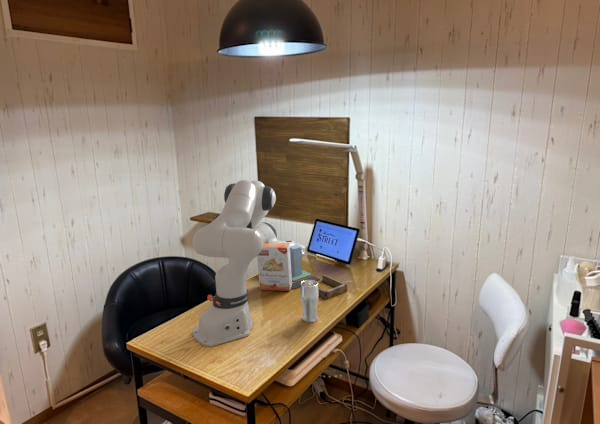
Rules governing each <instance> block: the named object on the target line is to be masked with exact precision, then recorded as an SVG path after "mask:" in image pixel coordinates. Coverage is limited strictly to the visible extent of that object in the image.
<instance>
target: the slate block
mask: <svg viewBox="0 0 600 424" xmlns="http://www.w3.org/2000/svg"><path fill="white" fill-rule="evenodd" d="M290 257H291V273H292V276H294V277H296V276H298V275H301V274H302V270H303V259H302V249H301V247H300V246H298V245H293V246H290Z"/></svg>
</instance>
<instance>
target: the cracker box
mask: <svg viewBox="0 0 600 424" xmlns="http://www.w3.org/2000/svg"><path fill="white" fill-rule="evenodd" d="M256 258H257V270H258V282H259V290H260V291H283V292H290V291H291V290H292V289H291V287H292V283H293V281H292V273H291V257H290V244H278V243H263V248H262V250H261V252H260V254H259V255H258V256H257V257H256Z"/></svg>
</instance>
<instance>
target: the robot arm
mask: <svg viewBox="0 0 600 424" xmlns="http://www.w3.org/2000/svg"><path fill="white" fill-rule="evenodd" d="M275 192H276V191H275V189H274V188H272V187H271V186H268V185H265V184H264V183H263V182H262V181H260V180H251V181H250V180H246V179H241V180H239V181H237V182H236V183H230V184H228V185H227V186H226V187H225V190H224V193H223V200H224V206H223V208H222V211H221V212H220V213H219V215H218V216H217V217H216V218H215V219H214V220H212V221H211V222H210V223H208V224H207V225H204V226H203V227H201V228H198V229H197V230H196V231H195V233H194V234H193V236H192V237H193V238H192V246H193V249H194V251H195V253H196V254H197V255H201V256H204V257H209V258H225V259H228V263H227V264H224V265H223V266H221V267H219V268H218V269H217V271H216V273H215V277H214V279H215V289H216V292H215V295H214V296H213V294H208V295H207V297H206V298H207V300H208V302H212V304H211V305H210V306H209V307H208V308H207V309H206V310H205V311H204V312H203V314H201V315H200V317H199V319H198V326H197V327H196V328H193V330H192V337H193V338H194V339H195V340H196V341H197V342H198V343H199V344H200V345H203V346H204V347H208V348H209V347H211V348H212V347H215V346H217V345H221V344H225V343H228V342H232V341H235V340H238V339H242V338H246V337H248V336H249V335H250V332H251V330H252V328H253V327H254V321H253V319H252V316H251V313H250V312H251V311H250V308H249V291H248V288H247V272H248V271H247V270H248V267H249V265H250V264H251V262H253V260H254V259H255V258H257V256H258V255H259V254H260V252H261V250H262V248H263V243H278V244H290V246H293V245H298V246H300V247H301V249H302V257H303V258H304V257H305V256H306V246H305V245H303V244H300V243H298V242H295V241H294V240H279V239H277V238H278V233H277V231H276V229H275V227H274V226H273V225H272V224H270V223H268V222H263V221H262V220H263V218H265V217H266V216H267V215H268V213H269V211H271V210H272V209H273V208H274V205H275V204H276V201H277V196H276V193H275ZM261 221H262V222H261Z"/></svg>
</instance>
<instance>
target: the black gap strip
mask: <svg viewBox="0 0 600 424" xmlns="http://www.w3.org/2000/svg"><path fill="white" fill-rule="evenodd" d="M304 280H315V281H317V282H318V281H320V278H319V277H316V276H314V275H311V276H309V277H306V278H303V279H300V280H298V281H295V282H292V287H291V289H290V290H296V289H298V288H301V282H302V281H304Z"/></svg>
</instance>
